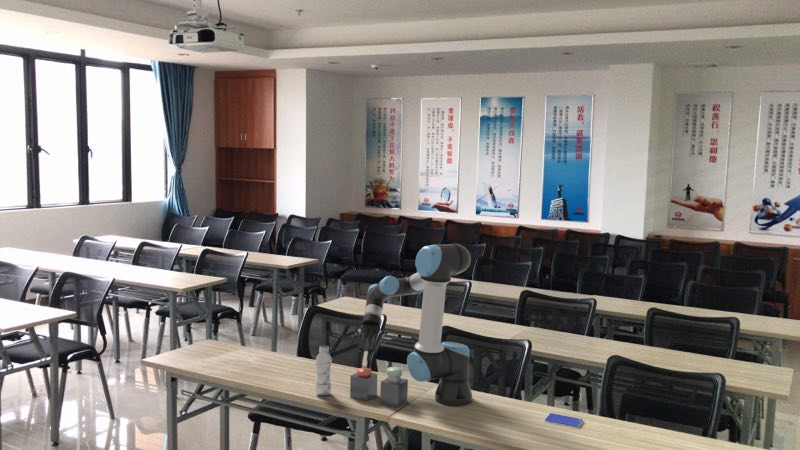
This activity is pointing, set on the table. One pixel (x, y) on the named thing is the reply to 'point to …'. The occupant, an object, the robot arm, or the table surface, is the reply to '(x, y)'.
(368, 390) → the red button post
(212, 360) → the table surface
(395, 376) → the green button
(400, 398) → the green button post
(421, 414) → the table surface
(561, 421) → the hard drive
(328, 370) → the plastic bottle
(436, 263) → the robot arm
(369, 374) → the red button
